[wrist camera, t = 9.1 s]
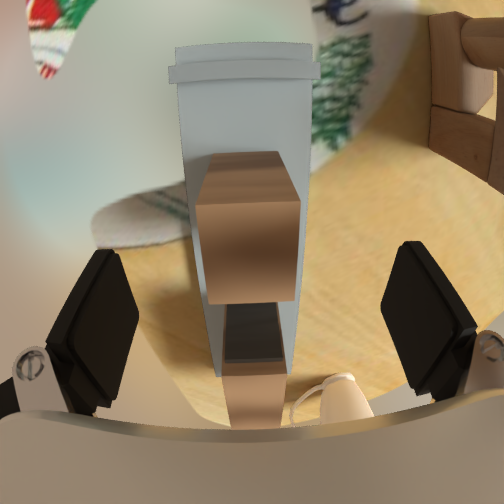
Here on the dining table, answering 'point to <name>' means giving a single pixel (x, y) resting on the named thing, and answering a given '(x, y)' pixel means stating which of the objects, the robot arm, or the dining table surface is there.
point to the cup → (338, 400)
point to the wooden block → (468, 93)
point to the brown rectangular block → (248, 228)
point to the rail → (245, 136)
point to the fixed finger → (253, 365)
